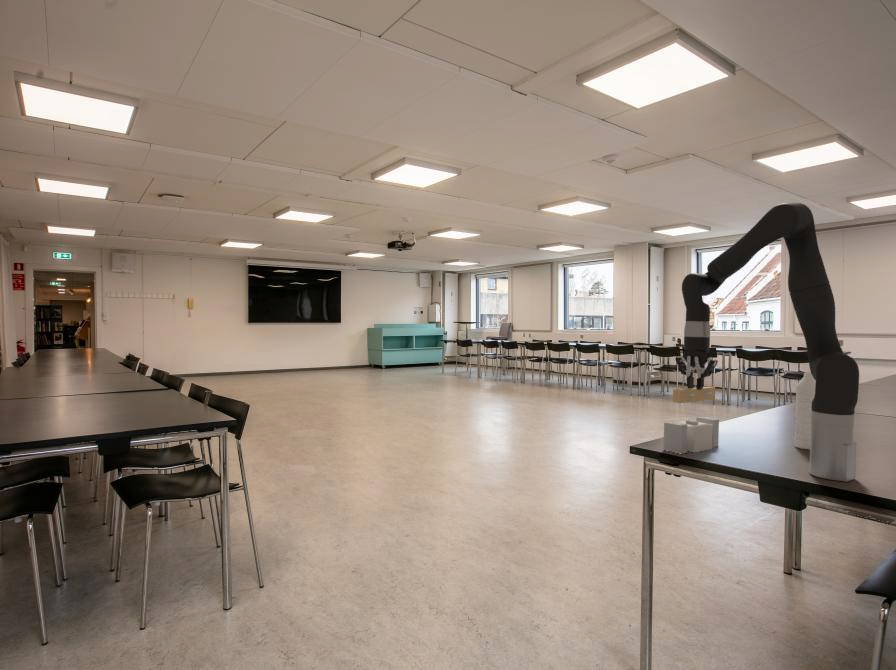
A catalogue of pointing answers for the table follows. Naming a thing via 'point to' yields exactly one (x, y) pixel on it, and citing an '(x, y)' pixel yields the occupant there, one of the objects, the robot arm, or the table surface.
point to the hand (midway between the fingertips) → (694, 388)
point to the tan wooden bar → (693, 394)
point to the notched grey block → (691, 435)
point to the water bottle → (804, 411)
